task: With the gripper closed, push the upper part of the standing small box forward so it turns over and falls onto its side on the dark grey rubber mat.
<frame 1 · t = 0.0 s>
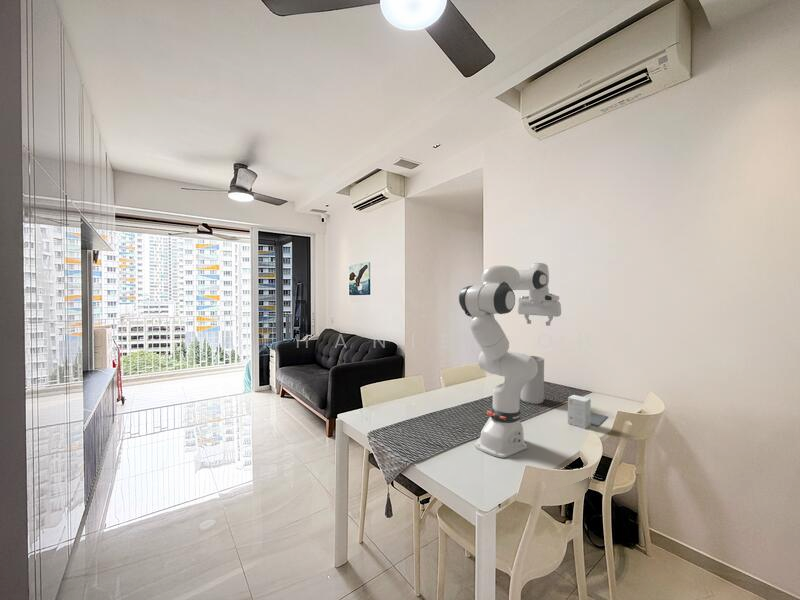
hand: (538, 324, 155), 48 cm above the table, fingers open, 8 cm apart
cylinder vase: (531, 400, 184), on the table
small box: (578, 424, 152), on the table
mat: (592, 418, 158), on the table
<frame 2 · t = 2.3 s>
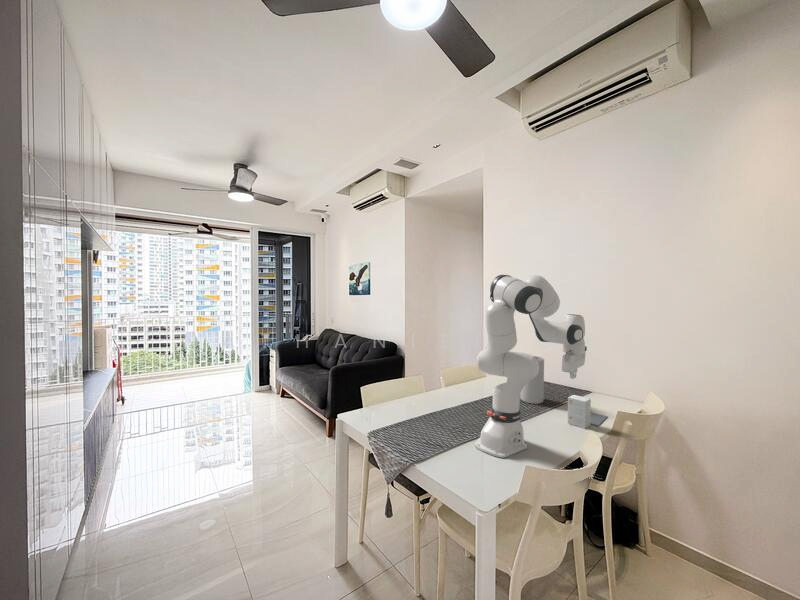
hand: (573, 378, 147), 24 cm above the table, fingers closed
nothing on the table moved.
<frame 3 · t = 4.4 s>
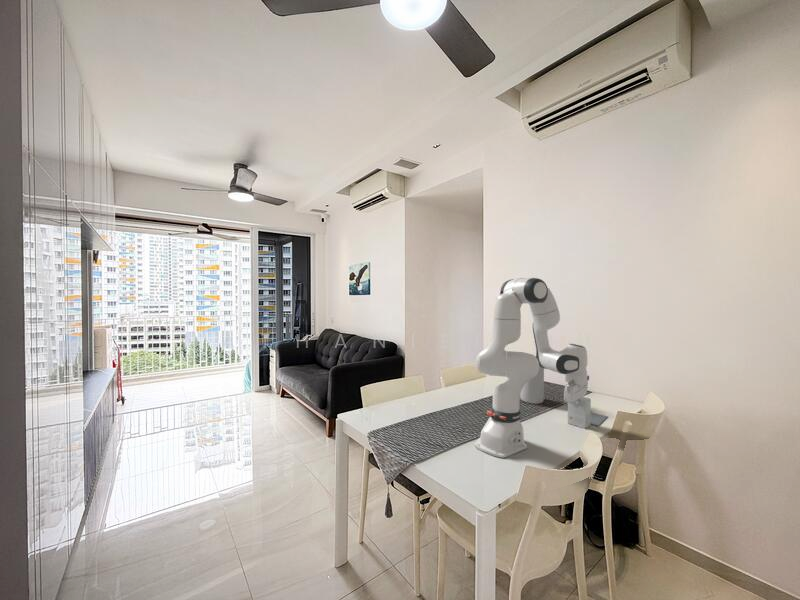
hand: (575, 407, 148), 10 cm above the table, fingers closed
small box: (578, 424, 152), on the table, touching gripper
everything else where it was.
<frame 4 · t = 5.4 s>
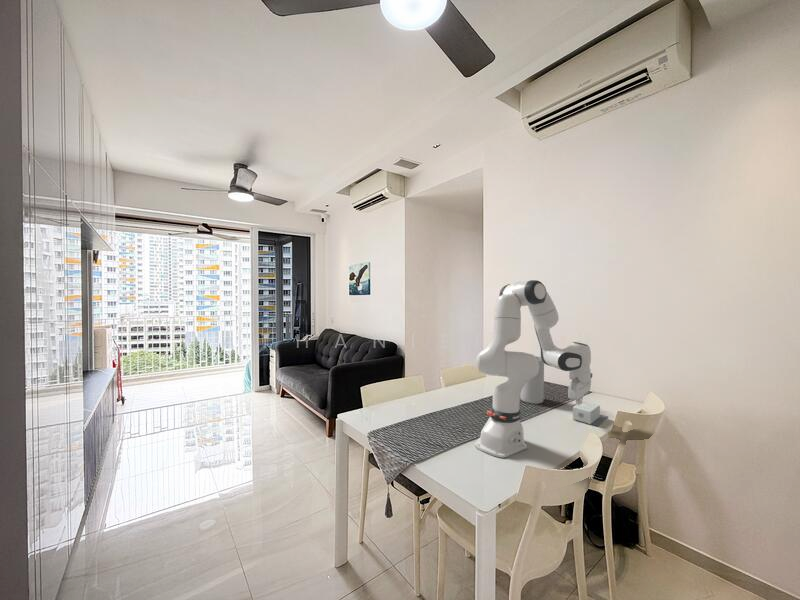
hand: (579, 404, 152), 10 cm above the table, fingers closed
small box: (581, 415, 154), point 3 cm above the table, touching mat
everything else where it was.
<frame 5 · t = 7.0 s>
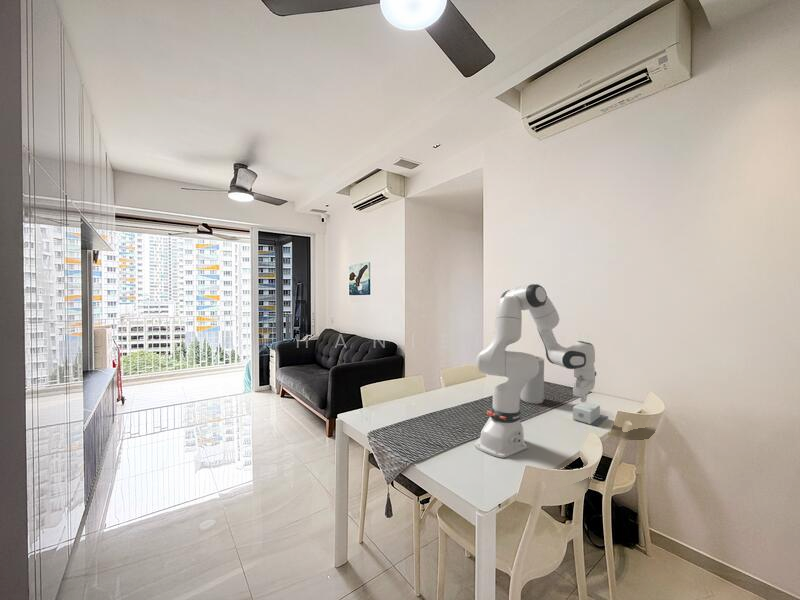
hand: (583, 401, 156), 10 cm above the table, fingers closed
nothing on the table moved.
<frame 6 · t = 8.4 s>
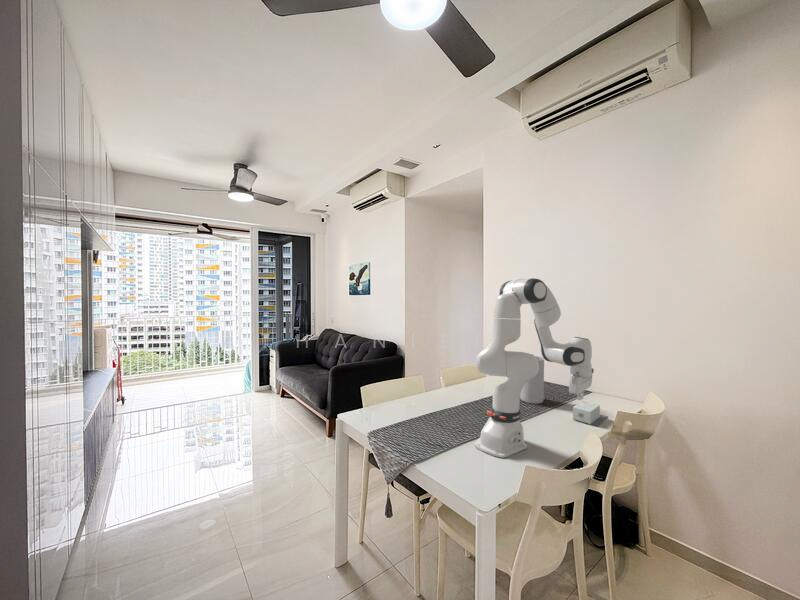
hand: (580, 399, 151), 12 cm above the table, fingers closed
nothing on the table moved.
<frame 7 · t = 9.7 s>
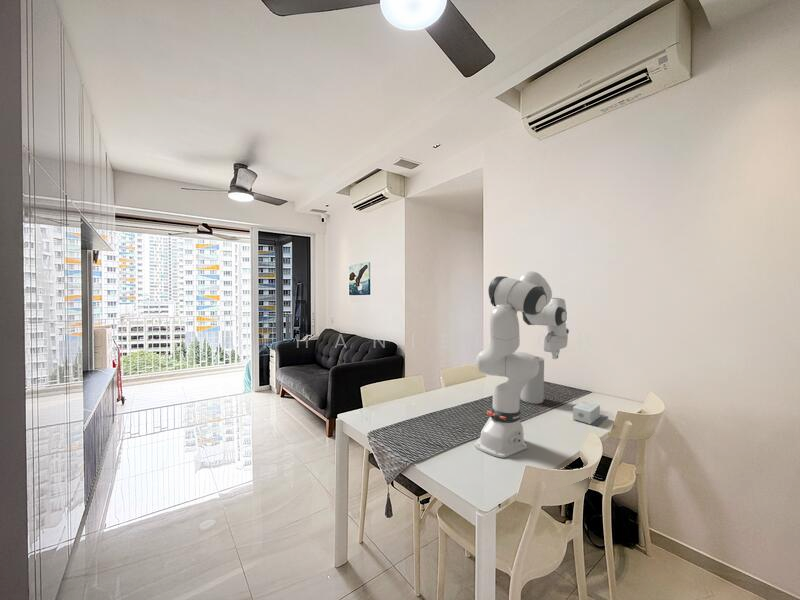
hand: (555, 358, 155), 31 cm above the table, fingers closed
nothing on the table moved.
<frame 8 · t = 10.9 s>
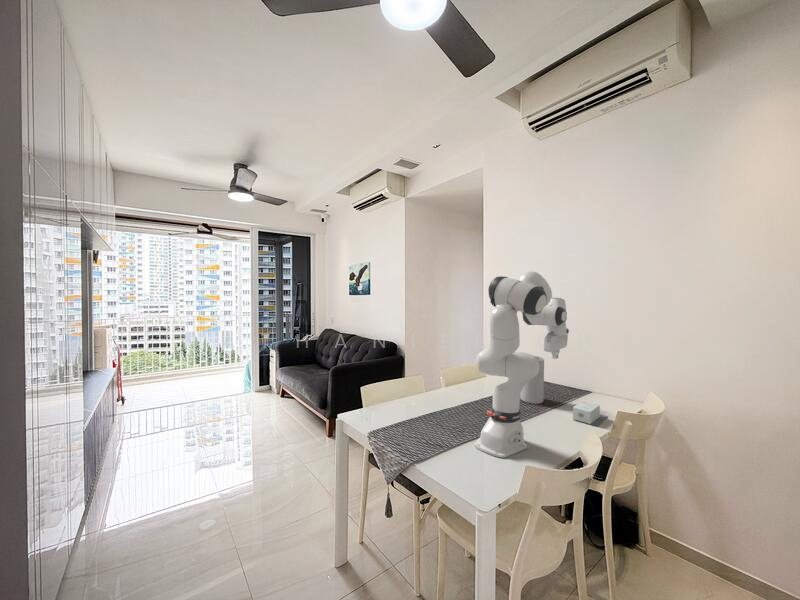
hand: (555, 358, 155), 31 cm above the table, fingers closed
nothing on the table moved.
at the end: small box tilted 89°; small box inside the target area (9.9 cm from its centre), point 3.4 cm above the table; the gripper is holding nothing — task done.
